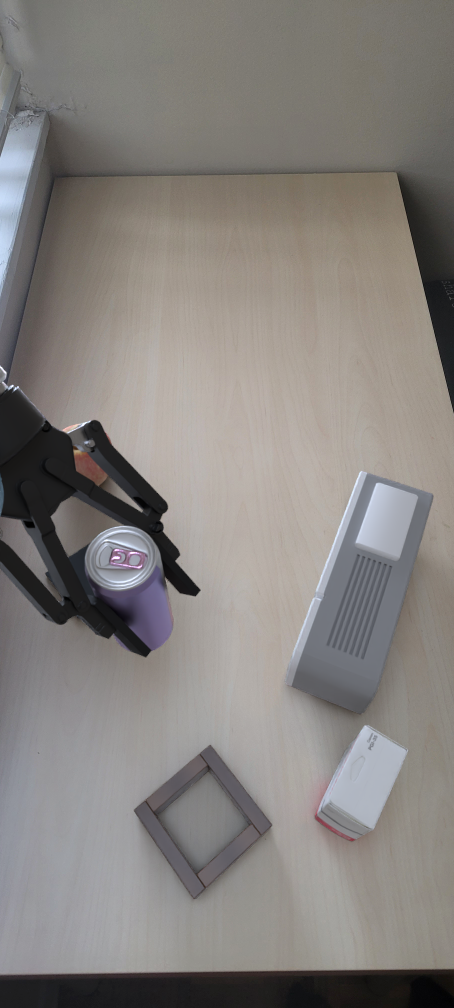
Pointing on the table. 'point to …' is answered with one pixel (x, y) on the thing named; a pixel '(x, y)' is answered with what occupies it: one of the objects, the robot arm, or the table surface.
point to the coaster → (79, 570)
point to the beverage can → (131, 582)
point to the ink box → (361, 784)
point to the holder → (179, 785)
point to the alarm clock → (360, 594)
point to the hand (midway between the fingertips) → (166, 620)
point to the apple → (87, 462)
